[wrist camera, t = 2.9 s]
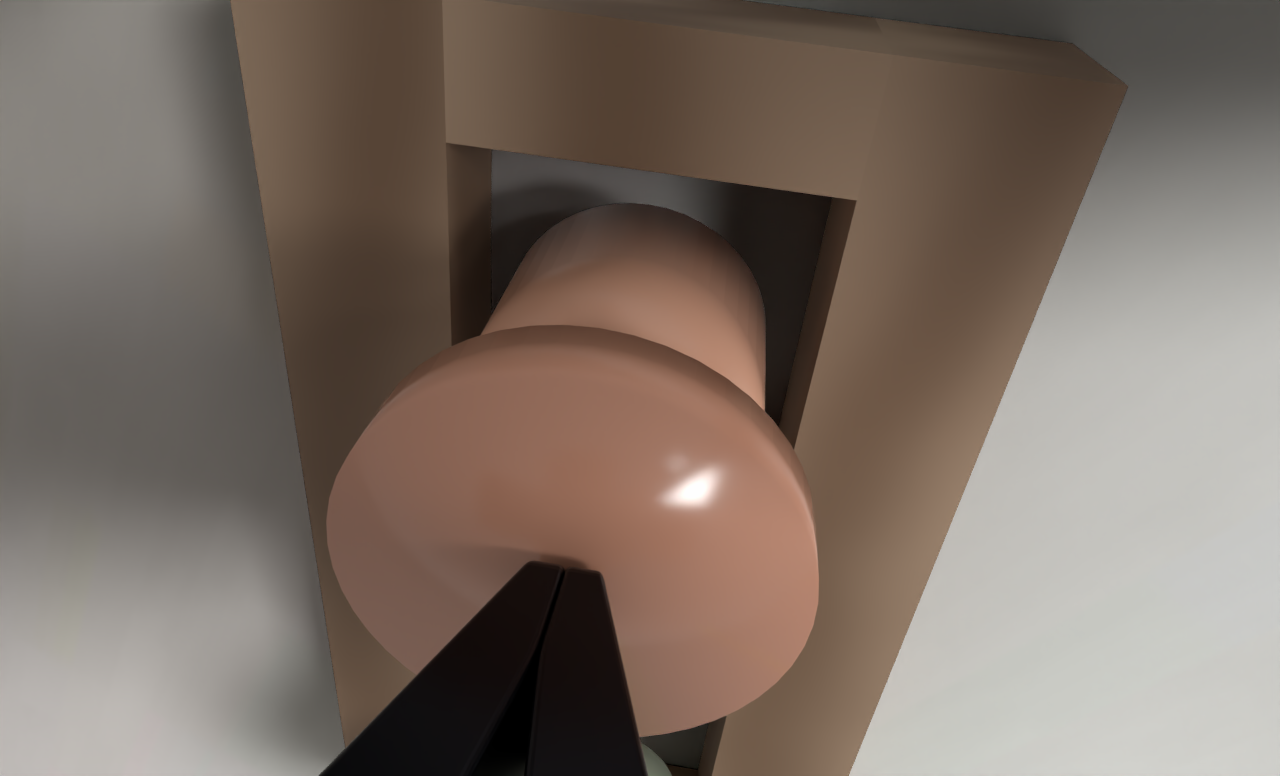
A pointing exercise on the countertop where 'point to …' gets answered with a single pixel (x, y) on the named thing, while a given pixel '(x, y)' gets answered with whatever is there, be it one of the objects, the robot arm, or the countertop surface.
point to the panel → (701, 148)
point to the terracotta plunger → (596, 468)
